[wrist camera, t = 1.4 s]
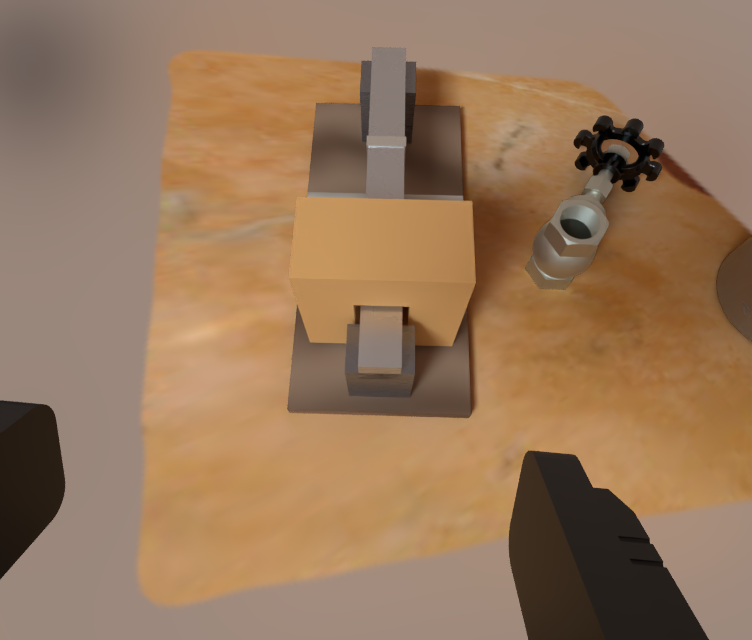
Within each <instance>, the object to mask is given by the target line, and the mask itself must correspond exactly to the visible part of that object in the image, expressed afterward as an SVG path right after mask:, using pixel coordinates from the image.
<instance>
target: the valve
mask: <svg viewBox="0 0 752 640" xmlns="http://www.w3.org/2000/svg"><path fill="white" fill-rule="evenodd" d="M642 129H643V123H642V121H640V120H639V119H631V120H629V121H628V122H627V124H626V126H625V127H624V128H623V129H621V128H615V127H614V126H613V121H612V119H611V118H610V117H609V116H605V115H604V116H600V117H599V118H598V120H597V121H596V123H595V124H594V126H593V132H596V131H598V133H597V134H595V135H592V133H591V132H590V131H588V130H581V131H580V132H579V133H578V135H577V136H576V138H575V140H574V146H575V147H576V148H578V149H579V148H580V146H581V145H583V146H585V147H587V150H586V152H581V153H580V154H579V156H578V158H577V159H576V161H575V166H576V168H577V169H579V170H585V169H586V167H587V166H589V165H591V166H592V167H593V168H594V169H593V175H594V176H591V178H590V180H589V182H588V183H587V185H586V187H585V188H584V190H583V192H582V194H581V195H576V196H572V197H570V198H569V199H568V200H565V201H562V202H561V204H560V205H559V207H558V209H557V210H556V212H555V214H554V216H553V217H552V219H551V220H550V221H549V222H547V223H546V224H545V225H543V226H542V227H541V228H540V230H539V231H538V233H537V234H536V236H535V238H534V241H533V247H532V252H533V255H532V256H531V258H530V260H529V262H528V264H527V265H526V267H525V269H526V271H527V272H528V274H529V275H530V277H531V278H532V279H533V281H534V282H535V284H536V285H537V286H538V288H539V289H556V290H566V288H567V287H568V285H569V284H570V283H571V281H572V280H573V278H574V276H577V275H579V274H581V273H582V272H583V271H585V270H586V269H587V268H588V267H589V266H590V264H591V263H592V261H593V259H594V257H595V255H596V251H597V246H598V244H599V243H600V241H601V239H602V237H603V236H604V234H605V232H606V230H607V228H608V226H609V222H608V220H607V218H606V211H605V209H604V207H603V206H602V204H603V202H604V201H605V199H606V198H607V196H608V194H609V192H610V191H611V189H612V187H613V185H612V184H613V183H616V182H617V181H618V180H622V181H623V184H622V186H621V188H622V189H623V190H624V191H626V192H632V191H634V190H635V188H636V187H637V185H638V183H639V181H640V178H639V176H638V175H640V174H641V173H644V174H646V175H647V178H646V180H647V181H654V180H656V179H657V177H658V175H659V173H660V171H661V170H662V166H661V164H660V163H658V162H656V161H650V155H652V157H653V159H656V158H658V157H659V155H660V154H661V152H662V150H663V148H664V142H662V140H660V139H657V138H653V139H651V140H649V141H644V140H643V139H642V138H641V137H640V136H639V134H640V133H641V131H642ZM608 139H618V140H622V141H624V142H626V143H628V144H630V145H631V146H633V147H634V148H635V150H636V151H637V153H638V155H639V157H638V159H637V161H636V162H635V163H633V164H627V159H628V157H629V155H630V153H629V151H628V150H627V149H626V148H625V147H624V146H623V145H610V147H609V148H608V150H607V151H606V152H604V153H603V152H602V150H601V145H602V143H603V141H604V140H608Z"/></svg>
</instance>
